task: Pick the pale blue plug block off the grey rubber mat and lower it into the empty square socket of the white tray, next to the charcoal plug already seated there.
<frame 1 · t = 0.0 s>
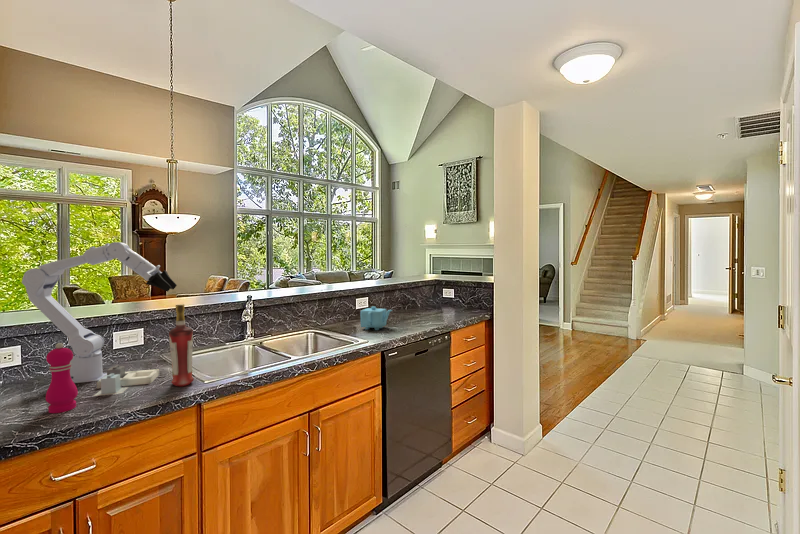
hand: (172, 288, 149), 32 cm above the worktop, tool tilted 50°, fingers open, 7 cm apart
plug: (111, 391, 129), resting on mat
teapot: (378, 329, 228), on the worktop
liquor: (182, 385, 136), on the worktop
mat: (111, 392, 129), on the worktop
white tray: (129, 381, 140), on the worktop
pepper mill: (62, 410, 116), on the worktop
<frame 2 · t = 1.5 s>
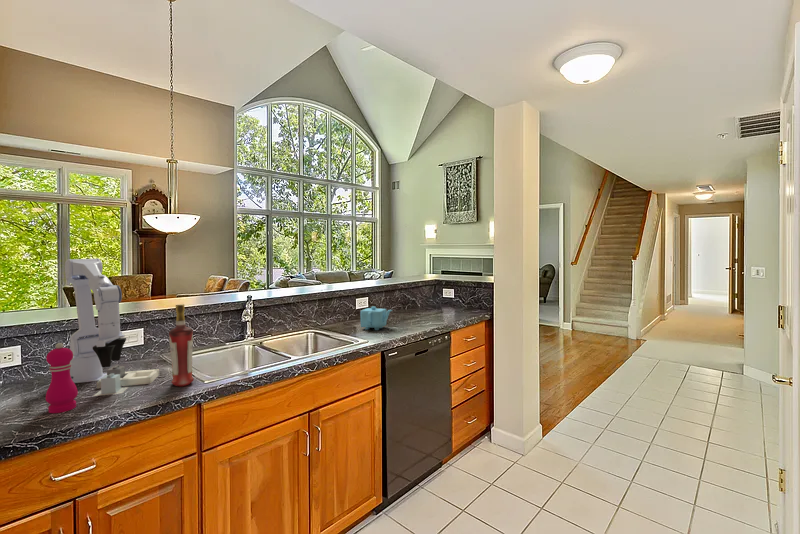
hand: (111, 363, 129), 10 cm above the worktop, tool pointing down, fingers open, 7 cm apart
nothing on the worktop moved.
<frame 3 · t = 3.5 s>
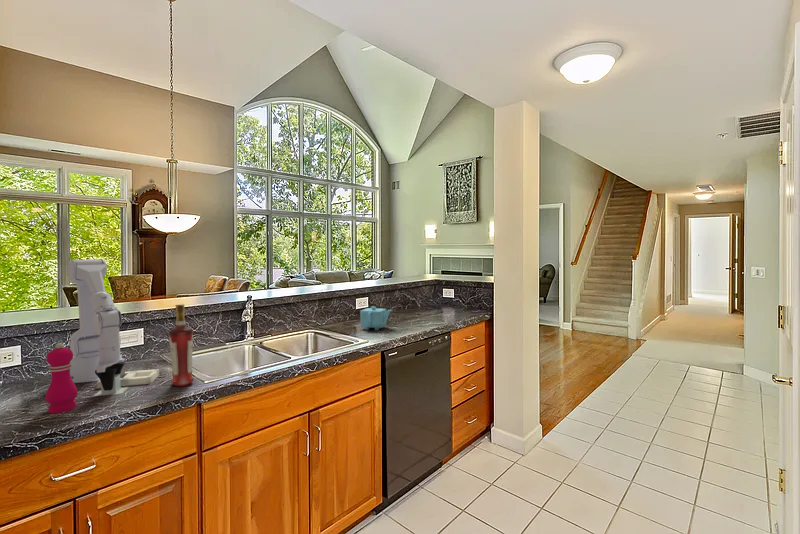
hand: (111, 387, 129), 2 cm above the worktop, tool pointing down, fingers closed on plug, 4 cm apart
plug: (111, 391, 129), resting on mat, touching gripper
everything else where it was.
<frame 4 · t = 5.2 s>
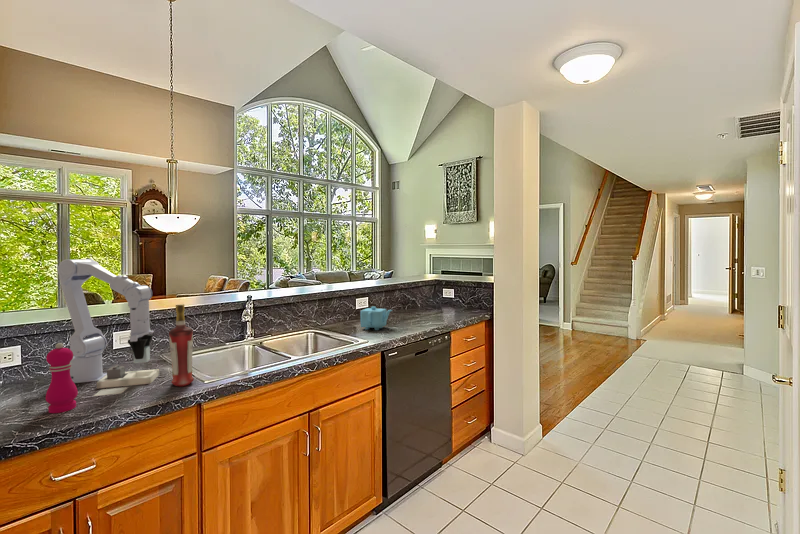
hand: (141, 357, 140), 9 cm above the worktop, tool pointing down, fingers closed on plug, 4 cm apart
plug: (142, 361, 140), point 7 cm above the worktop, touching gripper
everything else where it was.
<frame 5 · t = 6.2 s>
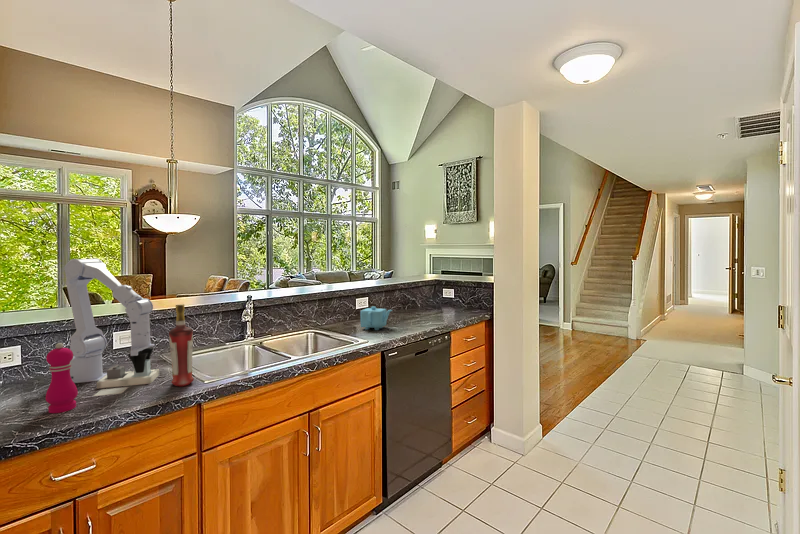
hand: (142, 370, 140), 4 cm above the worktop, tool pointing down, fingers closed on plug, 4 cm apart
plug: (142, 374, 141), point 2 cm above the worktop, touching gripper
everything else where it was.
when the fingers open (3 cm above the worktop, at t = 7.1 s): plug drops 1 cm, resting on white tray.
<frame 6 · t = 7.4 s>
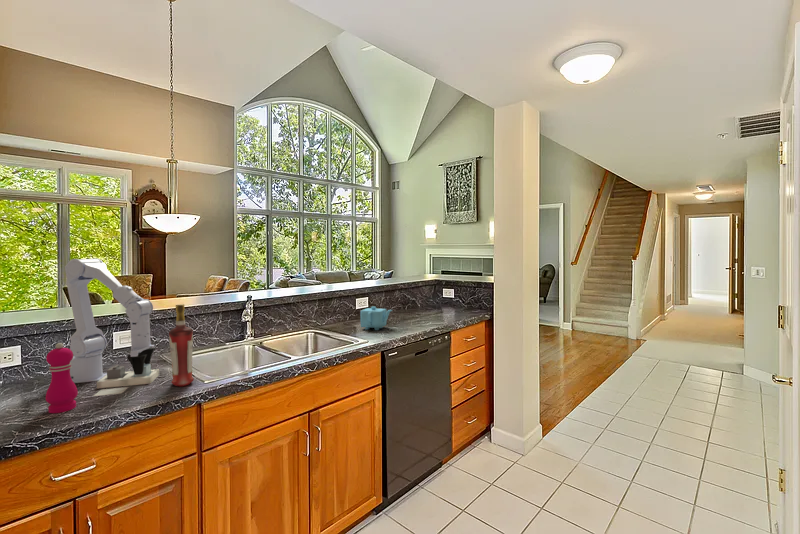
hand: (142, 371, 140), 3 cm above the worktop, tool pointing down, fingers open, 6 cm apart
plug: (142, 379, 141), resting on white tray
everything else where it was.
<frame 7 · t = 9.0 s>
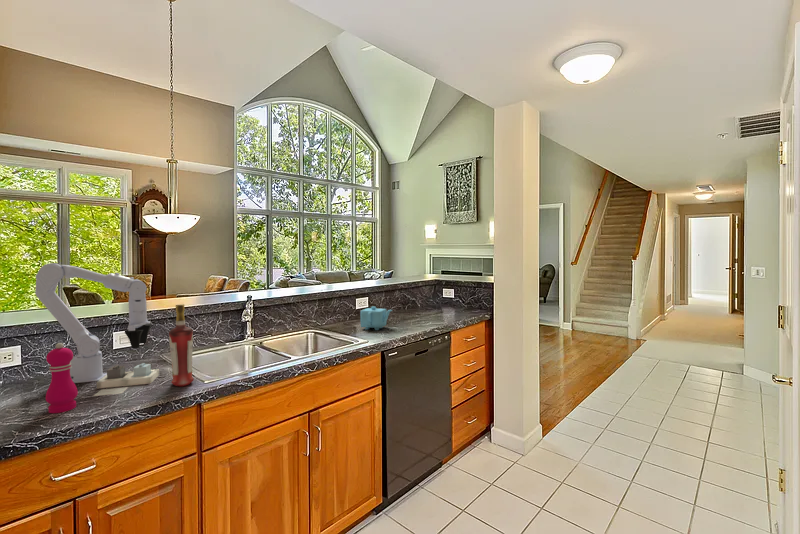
hand: (139, 345, 152), 10 cm above the worktop, tool pointing down, fingers open, 7 cm apart
nothing on the worktop moved.
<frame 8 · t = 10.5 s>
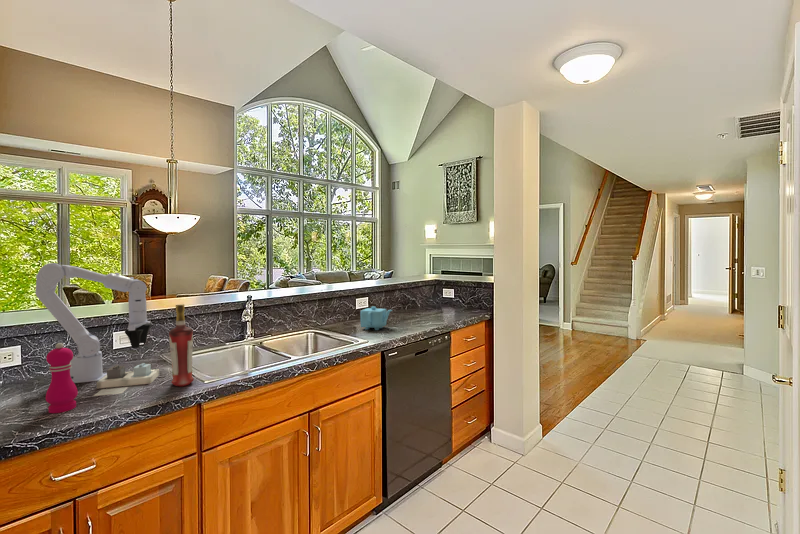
hand: (139, 345, 152), 10 cm above the worktop, tool pointing down, fingers open, 7 cm apart
nothing on the worktop moved.
at the end: plug 0.1 cm from the target spot on the white tray, point 0.4 cm above the white tray's base; plug tilted 0°; the gripper is holding nothing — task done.
